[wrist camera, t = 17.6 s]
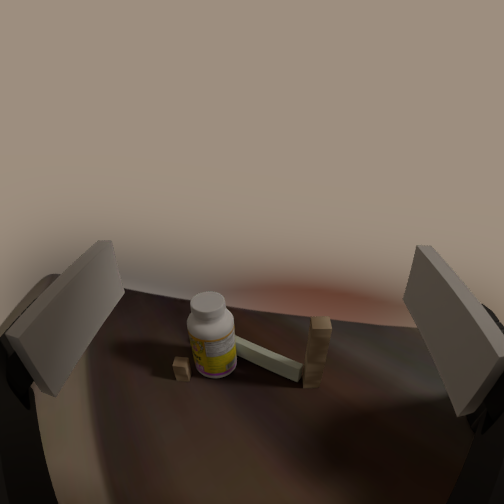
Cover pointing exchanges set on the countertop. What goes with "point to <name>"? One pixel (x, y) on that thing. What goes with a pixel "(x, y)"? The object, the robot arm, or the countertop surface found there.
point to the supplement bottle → (212, 335)
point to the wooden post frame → (313, 358)
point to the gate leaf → (268, 359)
